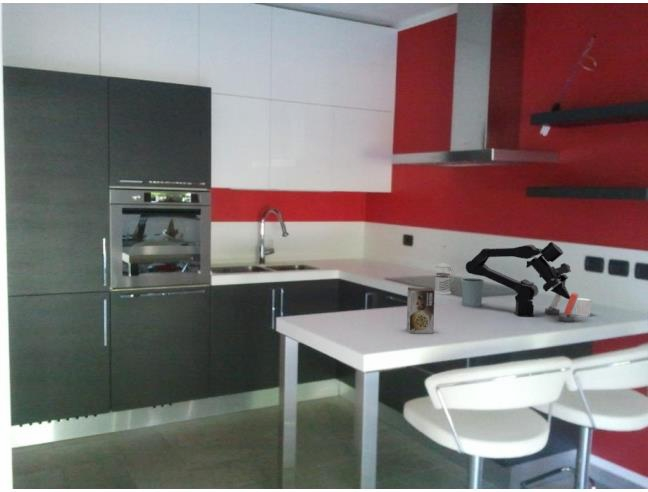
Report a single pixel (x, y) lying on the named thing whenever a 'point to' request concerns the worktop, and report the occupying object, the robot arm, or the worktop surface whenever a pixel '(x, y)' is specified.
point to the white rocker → (556, 301)
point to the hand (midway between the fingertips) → (569, 298)
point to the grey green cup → (472, 291)
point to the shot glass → (583, 306)
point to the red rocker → (571, 303)
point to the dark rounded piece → (566, 318)
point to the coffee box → (420, 310)
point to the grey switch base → (552, 311)
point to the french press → (443, 279)
